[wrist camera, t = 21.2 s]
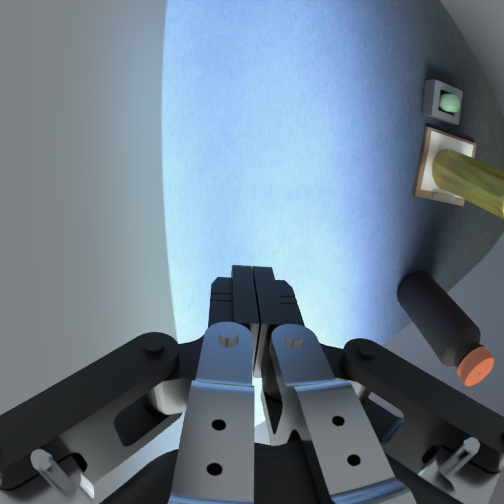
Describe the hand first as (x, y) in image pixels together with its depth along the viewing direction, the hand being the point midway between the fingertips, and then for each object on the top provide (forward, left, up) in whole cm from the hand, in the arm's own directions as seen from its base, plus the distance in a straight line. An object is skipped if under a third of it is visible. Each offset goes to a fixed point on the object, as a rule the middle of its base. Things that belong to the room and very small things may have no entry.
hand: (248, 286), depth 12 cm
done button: (-13, +26, -26) cm, 39 cm away
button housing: (-13, +26, -27) cm, 40 cm away
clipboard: (-4, +30, -27) cm, 40 cm away
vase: (-4, +29, -26) cm, 40 cm away
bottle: (+16, +30, -27) cm, 44 cm away
